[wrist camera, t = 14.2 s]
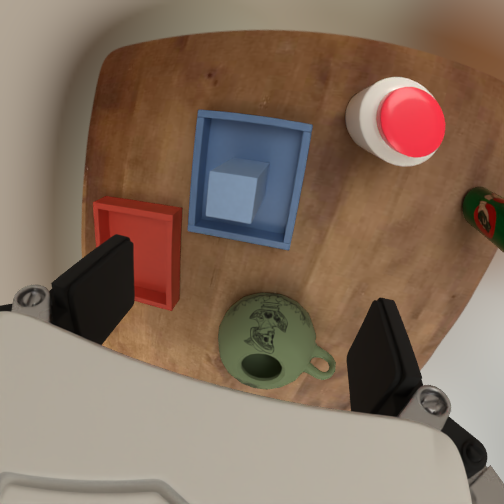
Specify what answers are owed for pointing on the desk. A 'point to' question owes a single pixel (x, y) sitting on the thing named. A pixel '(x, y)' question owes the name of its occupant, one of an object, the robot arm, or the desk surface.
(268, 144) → the blue tray
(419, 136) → the pill bottle
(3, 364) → the robot arm
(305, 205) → the desk surface
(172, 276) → the red tray
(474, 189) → the soda can
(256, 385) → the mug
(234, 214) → the blue block
